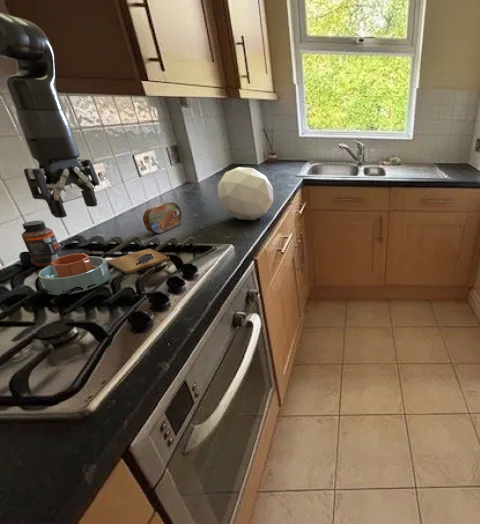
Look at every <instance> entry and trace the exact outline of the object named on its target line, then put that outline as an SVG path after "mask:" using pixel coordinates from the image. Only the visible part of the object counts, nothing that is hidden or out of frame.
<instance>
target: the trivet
mask: <svg viewBox="0 0 480 524" xmlns="http://www.w3.org/2000/svg"><path fill="white" fill-rule="evenodd" d="M145 254H152V256H153V257H154V258H153V259H151V260H149V261H148V262H147V263H146V262H145V263H144V264H143V263H141V264H138V265H136V263H138V262H139V261H138V259H139V258H140V257H141V256H143V255H145ZM165 255H166V254H165V253H164V254H163V253H161V252H159V251H157V250H155V249H153V248H146V249H142V250H139V251H135V252H132V253H129V254H125V255H122V256H117V257H115V258H112V259H108V260H106V263H107V265H108V266H111V267H113V268H114V269H116V270H118V271H120V272H121V273H124V274H125V275H128V274H133V273H135V272H138V271H140V270H144V269H147V268H150V267H152V266H156V265H159V264H161V263H164V262H165V263H166V262H168V261H170V260H171V258H170V256H168V255H166V256H165ZM167 256H168V257H167Z"/></svg>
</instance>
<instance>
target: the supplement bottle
mask: <svg viewBox="0 0 480 524" xmlns="http://www.w3.org/2000/svg"><path fill="white" fill-rule="evenodd" d="M21 225H22V228H23V230H24V231H23V232H22V233H21V238H22V241H23V242H24V245H25V248H26V249H27V252H28V253H29V255H30V258H31V260H32V263H33V264H34V266H36V267H39V268H41V267H42V268H43V267H44V268H45V267H47V266H49V265H51V262H52V261H53V260H55V259H57V258H59V257H62V256H64V254H63V252H62V250H61V247H60V245H59V242H58V239H57V237H56V235H55V233H54V231H53V229H52V228H50V227H47V226H46V223H45V221H44V220H31V221H26V222H24V223H22V224H21Z"/></svg>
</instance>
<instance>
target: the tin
mask: <svg viewBox="0 0 480 524" xmlns="http://www.w3.org/2000/svg"><path fill="white" fill-rule="evenodd" d="M142 215H143V216H142V221H143V224H144V227H145V229H146V230H147V231H148V232H150V233H154V234H162V233H164V232H166V231H169V230H171V229H173V228H175V227H177V226H179V225H180V223H181V222H182V211H181V208H180V206H179V205H178V204H177V203H176V202H172V201H171V202H170V201H169V202H163V203H160V204H158V205H154V206H152V207H150V208H148V209H146V210H145V211H144V213H143V214H142Z"/></svg>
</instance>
